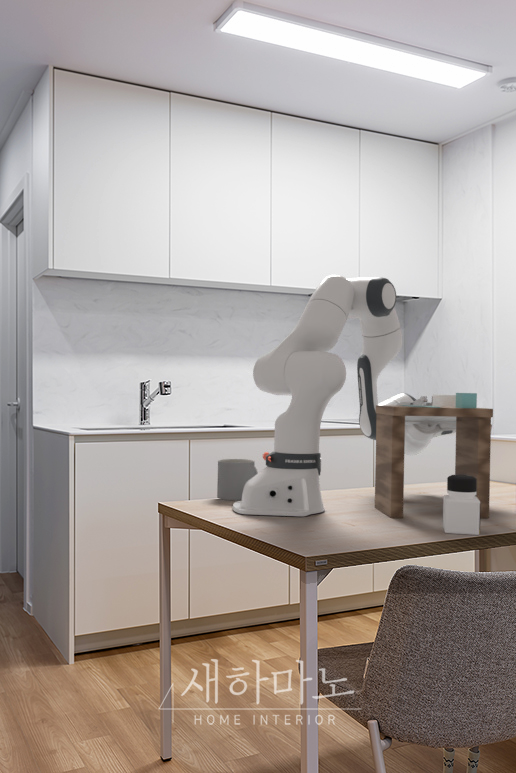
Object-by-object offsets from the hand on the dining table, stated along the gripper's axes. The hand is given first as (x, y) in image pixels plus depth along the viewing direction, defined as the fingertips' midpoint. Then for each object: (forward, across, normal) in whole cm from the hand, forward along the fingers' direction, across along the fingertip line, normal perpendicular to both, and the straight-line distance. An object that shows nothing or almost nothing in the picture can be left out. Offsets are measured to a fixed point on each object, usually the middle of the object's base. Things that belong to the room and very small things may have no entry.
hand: (440, 398), depth 185 cm
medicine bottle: (+16, -8, +42) cm, 46 cm away
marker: (+6, 0, +6) cm, 8 cm away
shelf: (-2, -7, +31) cm, 32 cm away
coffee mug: (-22, -52, +20) cm, 60 cm away
